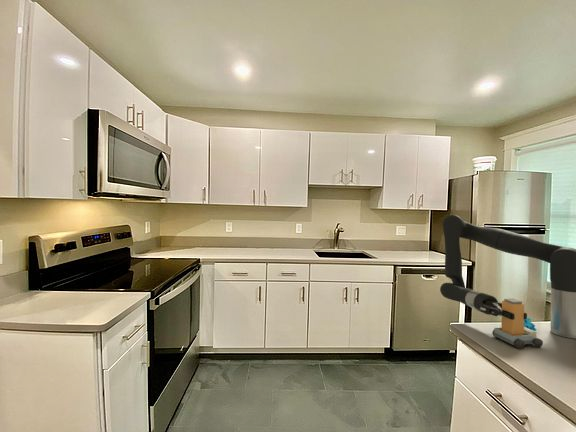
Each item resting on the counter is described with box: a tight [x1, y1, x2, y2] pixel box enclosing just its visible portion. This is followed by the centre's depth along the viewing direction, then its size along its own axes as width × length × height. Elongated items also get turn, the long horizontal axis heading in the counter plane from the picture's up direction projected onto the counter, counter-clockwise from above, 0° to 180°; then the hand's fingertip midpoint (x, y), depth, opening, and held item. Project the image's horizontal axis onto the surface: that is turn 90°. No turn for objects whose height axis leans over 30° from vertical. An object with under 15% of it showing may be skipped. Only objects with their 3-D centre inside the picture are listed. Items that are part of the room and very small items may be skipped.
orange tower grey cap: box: [500, 298, 525, 336], centre depth 105 cm, size 4×4×12 cm
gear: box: [524, 316, 537, 332], centre depth 118 cm, size 11×6×10 cm
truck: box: [492, 327, 544, 350], centre depth 105 cm, size 11×10×4 cm
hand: (519, 316), depth 102 cm, fingers closed on orange tower grey cap, 4 cm apart
